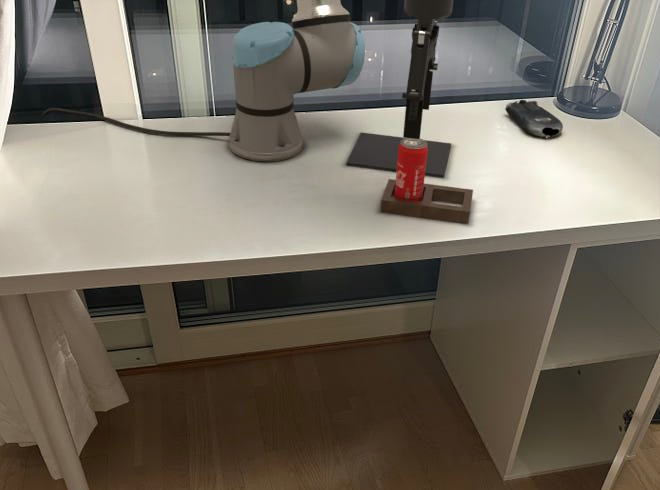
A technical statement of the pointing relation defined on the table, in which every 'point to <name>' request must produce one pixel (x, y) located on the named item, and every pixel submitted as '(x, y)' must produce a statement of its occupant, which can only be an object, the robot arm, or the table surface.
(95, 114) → the robot arm
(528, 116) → the electronic device
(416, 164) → the beverage can
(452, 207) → the tray
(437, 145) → the mat
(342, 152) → the table surface
